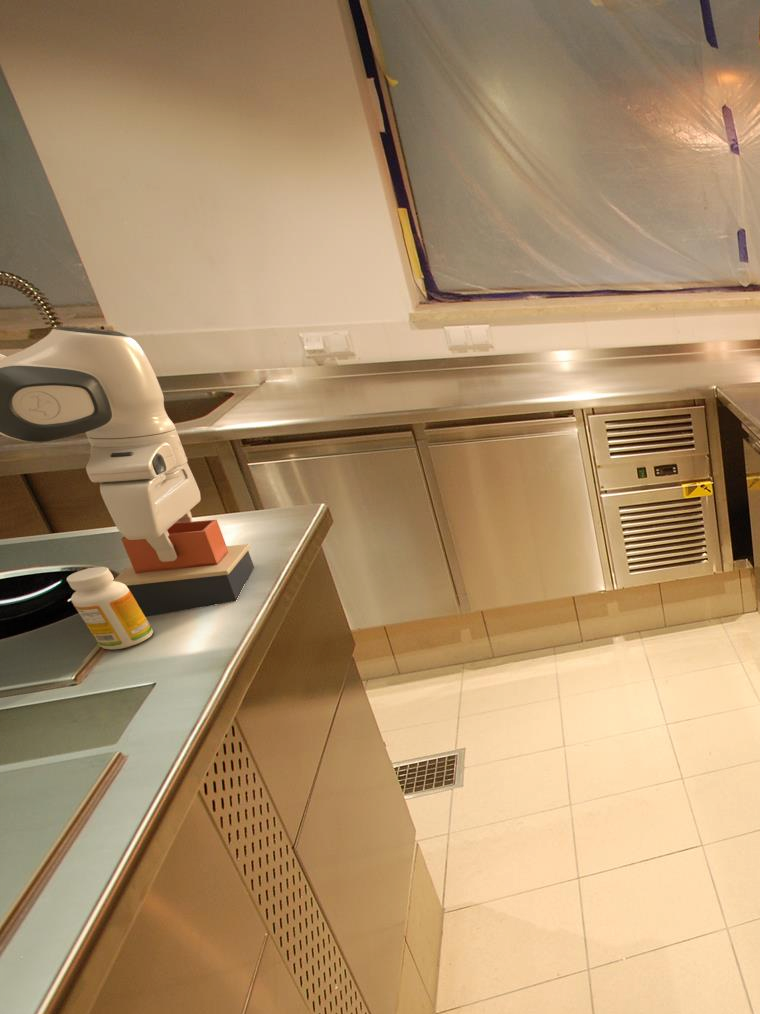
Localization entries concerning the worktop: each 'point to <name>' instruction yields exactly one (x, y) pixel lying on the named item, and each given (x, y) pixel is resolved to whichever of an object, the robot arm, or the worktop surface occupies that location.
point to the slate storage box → (190, 584)
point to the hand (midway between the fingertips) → (179, 551)
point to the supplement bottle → (108, 609)
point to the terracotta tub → (181, 547)
